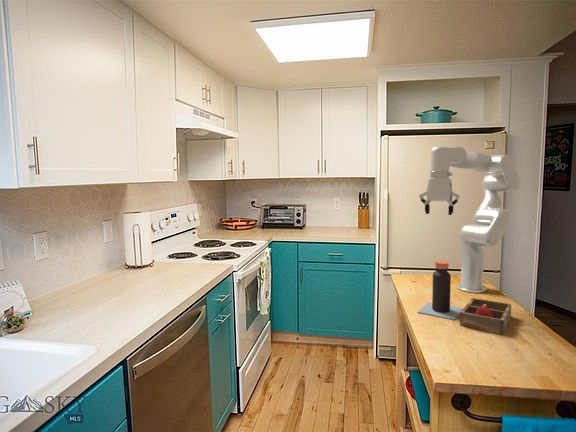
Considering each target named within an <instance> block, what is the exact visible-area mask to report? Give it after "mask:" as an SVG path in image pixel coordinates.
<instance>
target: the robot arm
mask: <svg viewBox="0 0 576 432" xmlns="http://www.w3.org/2000/svg"><path fill="white" fill-rule="evenodd" d="M451 167H452V168H458V169H462V170H463V169H464V170H471V171H475V172H481V173H484V174H487V175H485V176H484V177H483V179H482V183H481V184H482V189H483V195H484V196H483V199H482V202H481V203H480V205H479V206H478V208H477V209H476V211H475V213H474V215H473V217H472V221H473V223H474V224H473V223H469V224H464V225H463V226H462V227H461V228H460V230H459V236H460V237H459V238H460V243H461V261H460V262H461V265H460V266H461V267H460V268H461V269H460V271H461V273H460V283H458V284H457V285H456V287H457V289H458V290H460V291H462V292H467V293H471V294H472V293H473V294H475V293H476V294H479V293H480V294H481V293H485V292H486V291H487V287H486V286H485V285H484V284H483V283H484V263H485V262H484V260H485V257H484V255H485V254H484V251H483V247H486V248H494V247H496V246H497V245H499V243H500V241H501V240H502V238H503V236H504V235H505V233H506V231H507V229H508V228H509V226H510V224H511V213H510V211H509V210H507V209H506V208H502V205H503V199H502V198H501V196H500V194H499V192H506V193H507V192H508V193H509V192H510V193H511V192H515V191H517V190H519V189H520V187H521V177H520V175H519V173H518V170H517V168H516V166H515V164H514V161H512V159H511V157H509V156H508V155H507V154H487V153H483V152H480V151H476V150H466V149H465V148H464V147H462V146H458V145H457V146H435V147H432V148H431V150H430V177H429V179H428V180H427V181H428V182H427V186H426V187H427V188H426V191H425V192H423V193H421V194H418V197H419V199H420V202H421V203H423V205H424V212H425V214H426V215H429V214H430V213H431V212H430V203H431V202H447V203H448V204H449V205H448V216H452V214H453V213H454V206H455V205H456V204H457V203H458V202H459V200H460V198H461V195H460V194H458V193H456V192H454V191H453V183H452V178H450V177H452V176H453V175H454V174H453V172H450V168H451ZM425 196H426V198H424V197H425ZM453 197H455V198H454V200H453Z"/></svg>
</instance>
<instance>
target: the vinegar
mask: <svg viewBox="0 0 576 432" xmlns="http://www.w3.org/2000/svg"><path fill="white" fill-rule="evenodd" d="M434 267H435V271H434V272H433V273H432V297H431V299H432V301H431V303H432V309H433V310H434V311H436V312H441V313H445V312H449V311H450V306H451V282H452V281H451V279H452V278H451V277H452V276H451V273H450V272H449V271H448V270H449V262H448V261H443V260H438V261H435V266H434Z"/></svg>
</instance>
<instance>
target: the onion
mask: <svg viewBox="0 0 576 432" xmlns="http://www.w3.org/2000/svg"><path fill="white" fill-rule="evenodd" d="M486 306H487V305H486V304H484V305H483V306H482V307H480V308H478V309H477V310H476V313H475V314H476V315H481V316H487V317H492V318H493V314H492V312H491V310H490V309H489V308H487V307H486Z"/></svg>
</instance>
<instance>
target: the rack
mask: <svg viewBox="0 0 576 432" xmlns="http://www.w3.org/2000/svg"><path fill="white" fill-rule="evenodd" d="M484 304H486V305H487V306H486V307H487V308H489V309H490V310H491V312H492V314H493V318H492V317H487V316H481V315H476V314H475V313H476V310H477V309H478V308H480V307H482V306H483V305H484ZM459 315H460V321H459V322H460V324H459V326H460V327H466V328H470V329H476V330H480V331H485V332H490V333H494V334H495V333H496V334H499V335H504V334H505V331H506V328H507V326H508V324H509V322H510V320H511V317H512V316H511V315H512V303H505V302H500V301H494V300H488V299H482V298H477V297H476V298H475V297H472V298H470V300H469V301H468V302H467V304H466V305H465V306H464V308H463V310H462V311H461V313H460V314H459Z"/></svg>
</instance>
